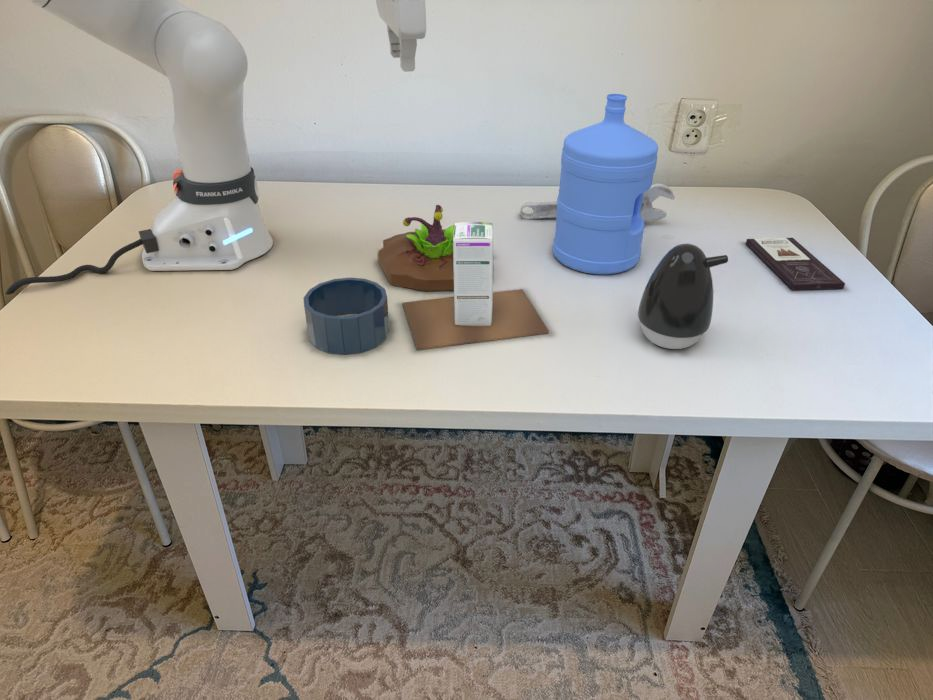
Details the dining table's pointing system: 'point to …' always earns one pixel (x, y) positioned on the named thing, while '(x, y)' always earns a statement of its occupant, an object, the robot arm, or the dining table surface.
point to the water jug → (603, 193)
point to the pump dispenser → (679, 298)
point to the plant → (420, 256)
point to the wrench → (646, 212)
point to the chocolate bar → (794, 264)
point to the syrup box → (473, 273)
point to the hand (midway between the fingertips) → (402, 63)
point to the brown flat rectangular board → (438, 326)
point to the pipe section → (347, 330)
